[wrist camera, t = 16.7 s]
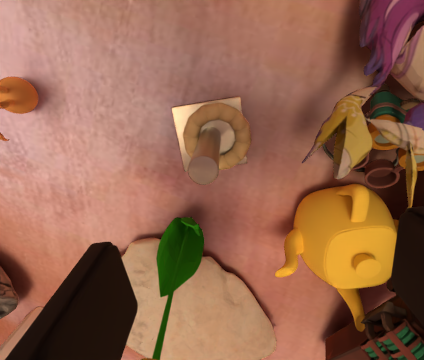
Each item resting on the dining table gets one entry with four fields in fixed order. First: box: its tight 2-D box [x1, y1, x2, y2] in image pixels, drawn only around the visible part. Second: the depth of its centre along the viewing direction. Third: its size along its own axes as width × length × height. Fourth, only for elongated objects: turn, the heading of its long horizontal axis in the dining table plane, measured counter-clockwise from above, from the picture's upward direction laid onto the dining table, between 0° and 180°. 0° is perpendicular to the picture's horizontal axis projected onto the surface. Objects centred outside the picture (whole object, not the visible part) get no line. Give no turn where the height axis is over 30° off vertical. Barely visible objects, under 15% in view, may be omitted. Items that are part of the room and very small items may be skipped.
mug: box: [0, 307, 43, 360], centre depth 41 cm, size 12×9×10 cm
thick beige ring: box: [183, 103, 251, 170], centre depth 30 cm, size 8×8×2 cm
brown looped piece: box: [323, 84, 424, 188], centre depth 29 cm, size 9×9×10 cm
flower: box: [141, 217, 204, 360], centre depth 23 cm, size 9×8×30 cm
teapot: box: [275, 184, 399, 332], centre depth 31 cm, size 14×13×10 cm
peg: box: [171, 96, 247, 185], centre depth 26 cm, size 8×8×13 cm
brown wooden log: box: [325, 278, 424, 360], centre depth 35 cm, size 14×27×20 cm, turn 175°
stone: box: [121, 237, 276, 360], centre depth 39 cm, size 21×7×30 cm
